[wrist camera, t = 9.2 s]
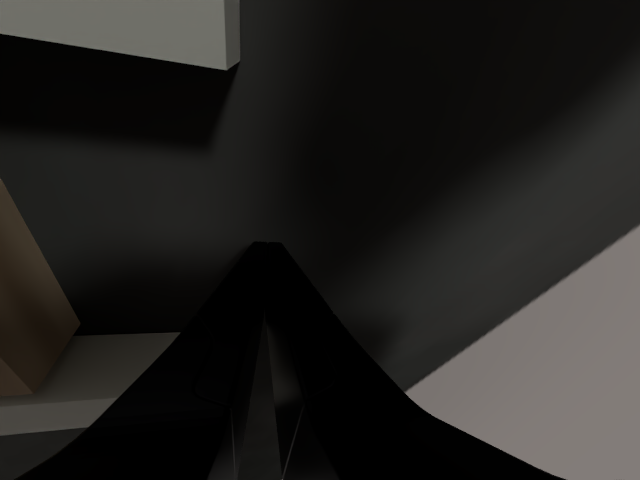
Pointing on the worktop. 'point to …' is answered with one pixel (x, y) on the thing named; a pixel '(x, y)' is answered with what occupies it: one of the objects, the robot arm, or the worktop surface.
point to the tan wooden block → (28, 307)
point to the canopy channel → (140, 40)
